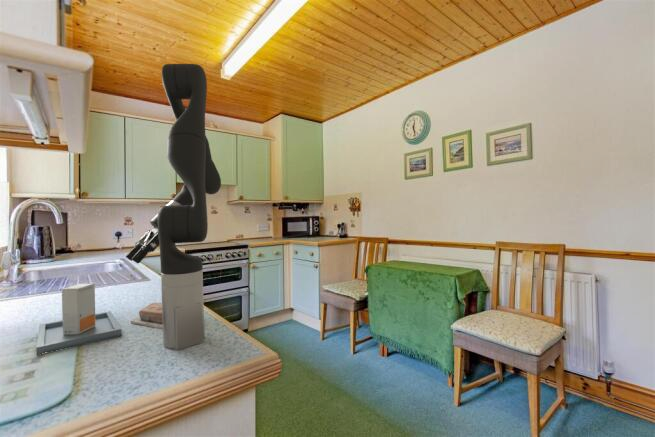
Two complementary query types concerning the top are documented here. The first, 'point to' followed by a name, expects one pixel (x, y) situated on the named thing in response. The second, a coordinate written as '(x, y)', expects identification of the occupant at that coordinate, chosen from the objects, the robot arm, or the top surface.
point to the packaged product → (150, 316)
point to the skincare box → (78, 308)
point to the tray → (55, 340)
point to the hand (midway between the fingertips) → (131, 260)
